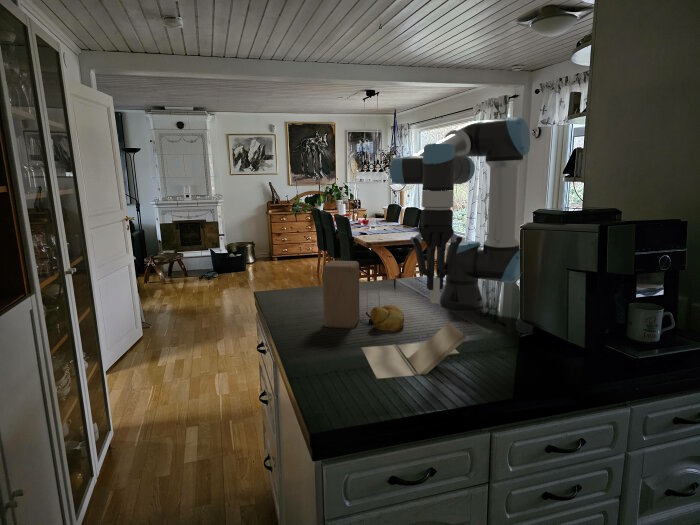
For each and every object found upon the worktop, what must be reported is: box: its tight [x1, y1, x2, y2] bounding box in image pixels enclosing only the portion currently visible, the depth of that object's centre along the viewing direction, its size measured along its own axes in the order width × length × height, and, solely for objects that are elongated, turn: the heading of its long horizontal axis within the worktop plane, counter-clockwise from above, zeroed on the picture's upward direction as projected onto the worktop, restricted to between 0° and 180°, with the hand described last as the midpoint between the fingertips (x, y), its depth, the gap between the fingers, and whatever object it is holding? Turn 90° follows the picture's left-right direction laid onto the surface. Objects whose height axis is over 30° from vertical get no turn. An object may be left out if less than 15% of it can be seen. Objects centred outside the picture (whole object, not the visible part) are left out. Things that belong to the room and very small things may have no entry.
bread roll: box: [370, 304, 405, 332], centre depth 135 cm, size 13×10×8 cm
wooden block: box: [322, 260, 360, 329], centre depth 138 cm, size 10×10×20 cm
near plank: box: [407, 322, 467, 376], centre depth 105 cm, size 14×9×1 cm
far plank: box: [396, 341, 460, 359], centre depth 115 cm, size 14×9×1 cm, turn 99°
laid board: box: [360, 344, 418, 380], centre depth 108 cm, size 10×19×1 cm, turn 9°
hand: (434, 301), depth 110 cm, fingers closed
